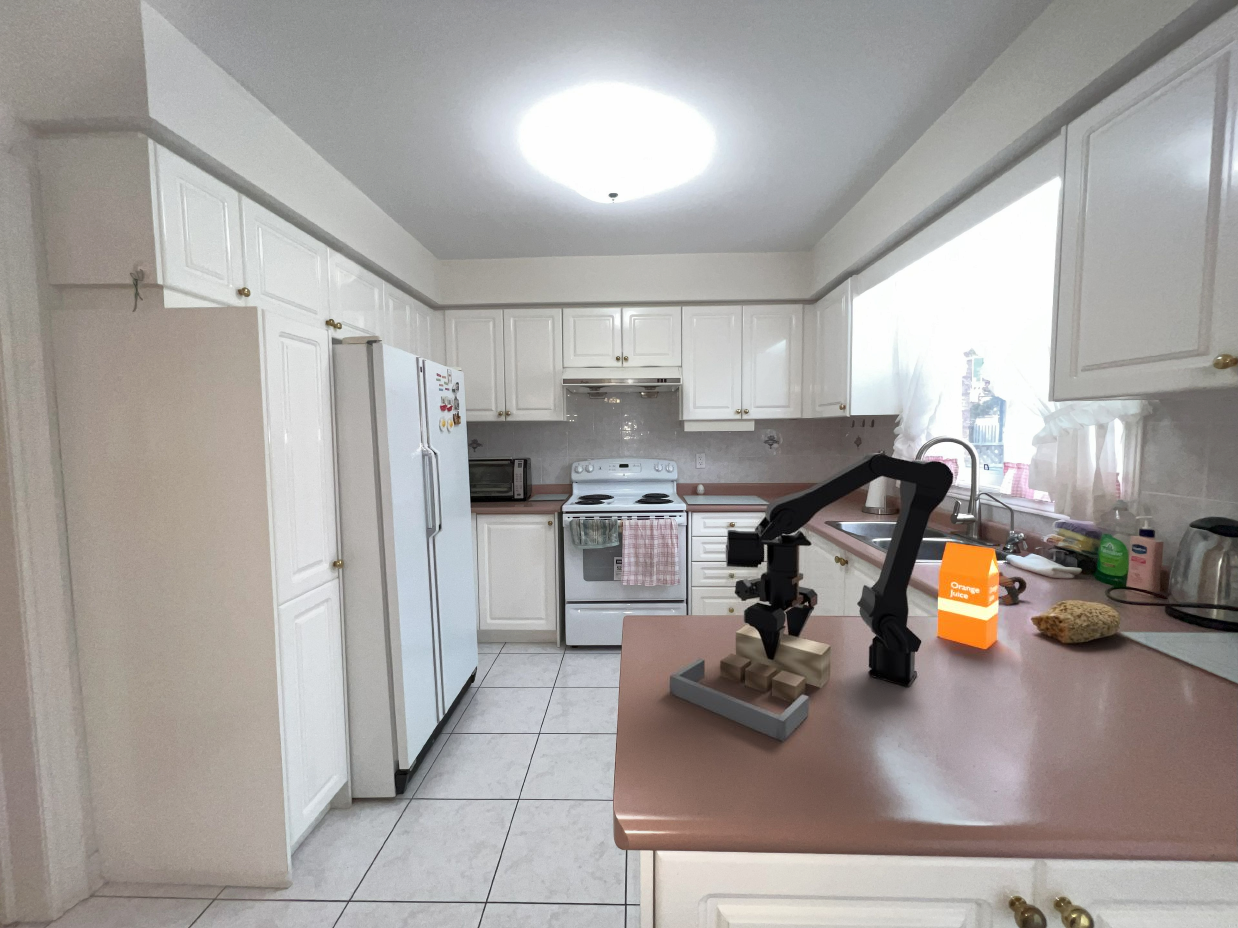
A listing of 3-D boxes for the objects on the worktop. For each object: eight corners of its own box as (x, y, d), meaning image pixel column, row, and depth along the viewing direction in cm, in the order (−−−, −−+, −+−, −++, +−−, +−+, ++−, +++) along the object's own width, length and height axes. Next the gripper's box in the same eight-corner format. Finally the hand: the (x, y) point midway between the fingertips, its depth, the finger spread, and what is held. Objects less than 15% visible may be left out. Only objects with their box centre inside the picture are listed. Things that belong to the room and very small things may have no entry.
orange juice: (985, 649, 100) (989, 551, 99) (936, 636, 107) (939, 544, 106) (997, 639, 105) (1000, 546, 104) (949, 627, 112) (952, 539, 111)
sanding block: (830, 677, 89) (830, 645, 89) (820, 688, 86) (821, 654, 85) (747, 653, 100) (747, 624, 99) (735, 662, 96) (735, 631, 95)
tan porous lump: (1083, 657, 99) (1154, 627, 104) (1070, 618, 100) (1141, 590, 104) (1019, 643, 112) (1084, 617, 116) (1008, 609, 113) (1074, 584, 117)
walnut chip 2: (805, 694, 83) (805, 677, 83) (795, 704, 80) (795, 686, 80) (782, 687, 86) (782, 670, 86) (772, 695, 83) (772, 678, 83)
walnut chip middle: (777, 685, 87) (777, 668, 87) (766, 693, 84) (766, 676, 84) (756, 677, 90) (756, 661, 89) (744, 685, 87) (745, 669, 86)
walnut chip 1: (750, 675, 90) (750, 659, 90) (740, 683, 87) (740, 667, 87) (731, 669, 93) (731, 653, 93) (720, 676, 90) (720, 660, 90)
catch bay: (808, 715, 77) (808, 696, 77) (783, 741, 70) (783, 720, 70) (699, 674, 91) (699, 658, 90) (670, 692, 84) (670, 675, 84)
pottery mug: (995, 608, 126) (978, 576, 129) (976, 612, 134) (961, 582, 138) (1043, 596, 125) (1025, 564, 129) (1021, 601, 134) (1004, 571, 137)
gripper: (765, 552, 104) (764, 625, 105) (717, 570, 90) (717, 654, 91) (819, 561, 96) (818, 640, 97) (775, 582, 83) (775, 673, 83)
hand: (782, 650), depth 92 cm, fingers open, 9 cm apart
